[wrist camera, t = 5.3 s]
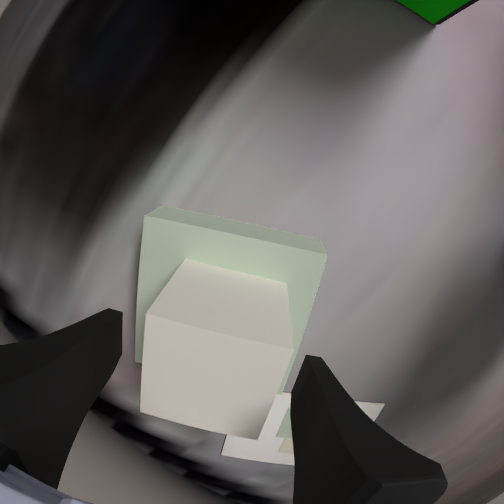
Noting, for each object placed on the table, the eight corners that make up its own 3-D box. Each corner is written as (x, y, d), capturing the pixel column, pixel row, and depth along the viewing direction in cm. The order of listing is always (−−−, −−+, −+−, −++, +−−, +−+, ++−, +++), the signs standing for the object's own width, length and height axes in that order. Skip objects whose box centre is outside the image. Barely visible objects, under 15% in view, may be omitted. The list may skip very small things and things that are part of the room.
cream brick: (286, 283, 14) (294, 349, 9) (260, 363, 15) (257, 440, 11) (185, 258, 14) (146, 313, 9) (172, 341, 15) (140, 411, 11)
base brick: (318, 236, 16) (328, 254, 14) (280, 362, 19) (281, 394, 16) (165, 203, 16) (144, 215, 13) (151, 333, 19) (134, 361, 16)
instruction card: (384, 403, 19) (385, 404, 19) (341, 467, 22) (341, 468, 22) (241, 384, 19) (240, 386, 19) (221, 453, 22) (221, 455, 21)
